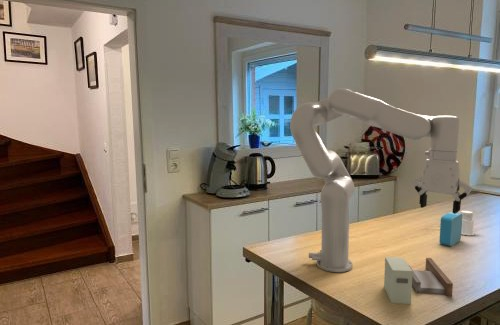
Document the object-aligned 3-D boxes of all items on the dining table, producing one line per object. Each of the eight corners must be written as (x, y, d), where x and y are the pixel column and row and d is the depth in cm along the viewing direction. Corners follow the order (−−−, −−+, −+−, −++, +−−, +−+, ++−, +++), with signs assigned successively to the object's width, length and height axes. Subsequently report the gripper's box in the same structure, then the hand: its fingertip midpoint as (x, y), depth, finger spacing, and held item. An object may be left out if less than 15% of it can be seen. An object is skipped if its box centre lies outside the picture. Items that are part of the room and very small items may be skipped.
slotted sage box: (391, 303, 110) (392, 270, 109) (384, 287, 121) (385, 256, 119) (411, 304, 110) (413, 271, 108) (402, 287, 120) (403, 257, 118)
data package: (449, 237, 165) (451, 210, 164) (461, 240, 162) (462, 212, 161) (439, 244, 157) (440, 216, 156) (450, 247, 154) (452, 218, 152)
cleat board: (417, 294, 115) (418, 281, 115) (401, 267, 135) (401, 256, 134) (452, 296, 114) (452, 283, 114) (430, 268, 134) (430, 257, 133)
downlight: (472, 237, 166) (474, 214, 165) (454, 234, 170) (456, 212, 169) (475, 233, 172) (477, 211, 171) (457, 230, 176) (459, 209, 175)
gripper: (409, 154, 121) (406, 206, 123) (469, 159, 109) (465, 217, 111) (419, 152, 126) (416, 202, 129) (477, 157, 114) (473, 212, 116)
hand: (438, 209), depth 120 cm, fingers open, 9 cm apart
